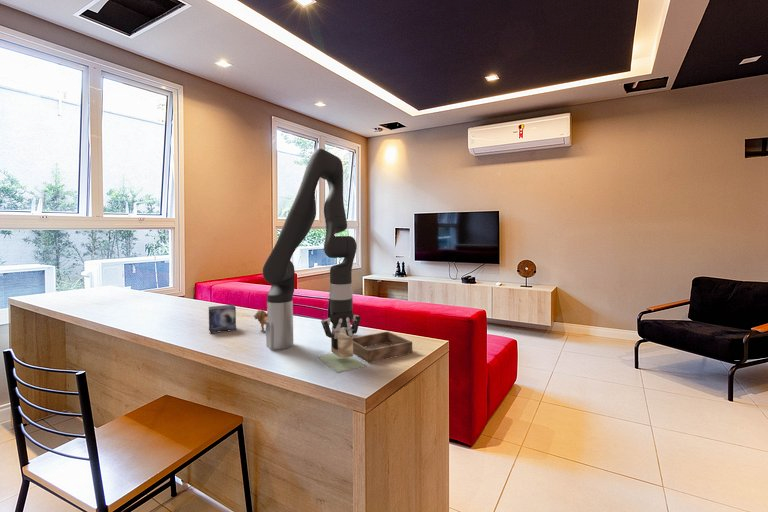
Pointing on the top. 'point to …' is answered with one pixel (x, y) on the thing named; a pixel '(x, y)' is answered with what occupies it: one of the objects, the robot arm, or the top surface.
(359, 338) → the slot box
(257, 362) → the top surface
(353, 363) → the mat
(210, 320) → the small box
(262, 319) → the lion figurine
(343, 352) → the maple block
